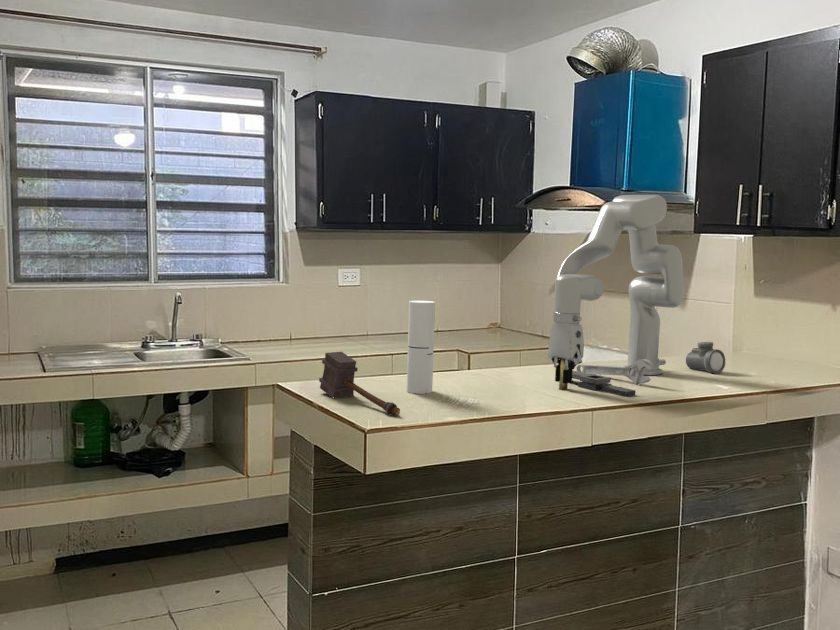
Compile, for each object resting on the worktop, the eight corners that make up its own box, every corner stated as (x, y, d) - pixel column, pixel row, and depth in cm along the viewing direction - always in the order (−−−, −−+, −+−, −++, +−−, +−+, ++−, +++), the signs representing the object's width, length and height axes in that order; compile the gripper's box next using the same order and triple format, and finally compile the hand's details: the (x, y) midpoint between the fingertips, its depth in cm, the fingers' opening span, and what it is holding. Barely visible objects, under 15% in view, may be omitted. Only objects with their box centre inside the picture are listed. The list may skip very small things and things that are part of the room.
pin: (563, 387, 233) (564, 357, 232) (569, 389, 231) (570, 358, 231) (557, 388, 232) (558, 358, 231) (563, 390, 230) (564, 359, 229)
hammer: (339, 385, 221) (343, 350, 218) (406, 434, 195) (412, 396, 193) (317, 387, 217) (321, 352, 214) (383, 438, 191) (388, 399, 189)
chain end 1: (568, 378, 248) (569, 358, 247) (610, 387, 235) (611, 366, 234) (554, 379, 244) (555, 359, 244) (595, 389, 231) (596, 368, 230)
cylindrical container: (402, 389, 225) (405, 300, 222) (426, 388, 228) (428, 300, 225) (412, 394, 218) (415, 303, 216) (436, 393, 221) (439, 302, 218)
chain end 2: (593, 384, 240) (594, 380, 240) (638, 394, 227) (638, 390, 226) (577, 386, 236) (578, 382, 236) (622, 397, 223) (622, 392, 222)
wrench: (580, 381, 262) (655, 386, 238) (576, 381, 261) (651, 386, 237) (579, 356, 262) (654, 359, 238) (575, 357, 261) (650, 360, 237)
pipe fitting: (728, 371, 267) (725, 341, 267) (711, 375, 264) (708, 344, 263) (699, 370, 278) (697, 340, 277) (683, 373, 274) (680, 343, 274)
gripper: (596, 321, 225) (593, 385, 227) (555, 315, 238) (552, 376, 240) (578, 322, 221) (574, 388, 223) (537, 316, 234) (534, 378, 236)
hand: (563, 381), depth 232 cm, fingers closed on pin, 2 cm apart
